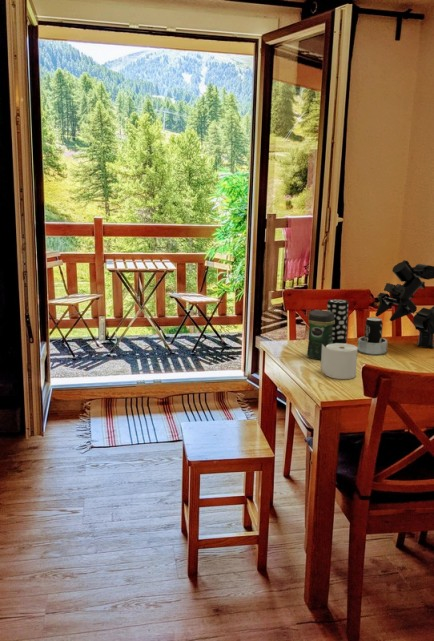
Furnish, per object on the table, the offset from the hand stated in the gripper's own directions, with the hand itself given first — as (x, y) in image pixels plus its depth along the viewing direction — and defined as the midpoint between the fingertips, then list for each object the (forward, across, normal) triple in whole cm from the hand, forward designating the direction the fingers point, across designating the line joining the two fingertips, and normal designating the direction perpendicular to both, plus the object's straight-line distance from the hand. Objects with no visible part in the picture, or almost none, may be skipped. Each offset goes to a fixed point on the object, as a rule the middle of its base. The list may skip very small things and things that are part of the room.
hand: (383, 318), depth 217 cm
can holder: (+12, 0, +6) cm, 14 cm away
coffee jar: (+30, 0, -10) cm, 31 cm away
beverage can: (+12, 0, +6) cm, 13 cm away
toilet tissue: (+33, +21, -14) cm, 41 cm away
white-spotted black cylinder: (+21, -8, -2) cm, 23 cm away
